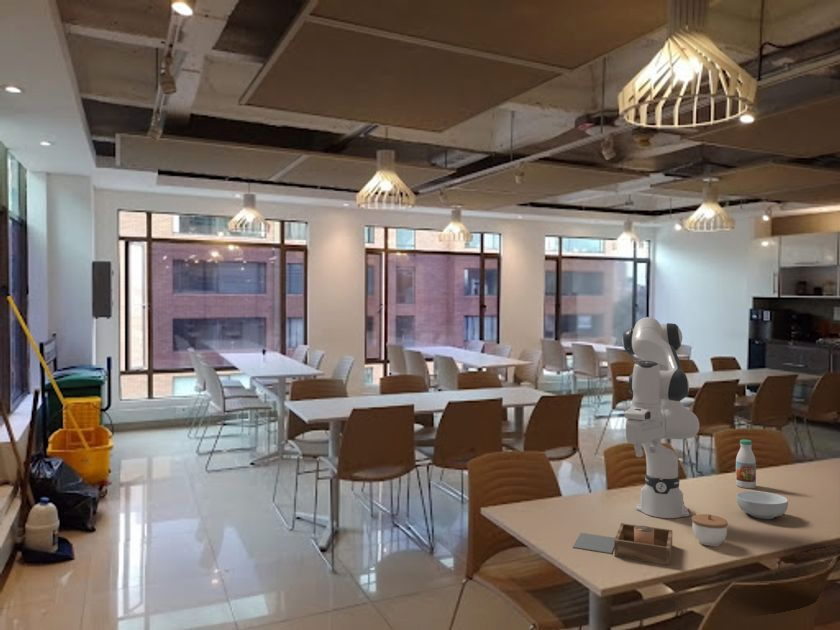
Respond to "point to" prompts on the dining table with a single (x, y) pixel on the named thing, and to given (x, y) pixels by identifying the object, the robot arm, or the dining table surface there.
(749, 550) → the dining table surface
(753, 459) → the milk bottle
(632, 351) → the robot arm
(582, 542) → the slate mat
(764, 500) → the cereal bowl
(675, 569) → the dining table surface
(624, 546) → the wooden frame
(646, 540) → the peach cylinder
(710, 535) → the lidded jar
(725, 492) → the dining table surface
